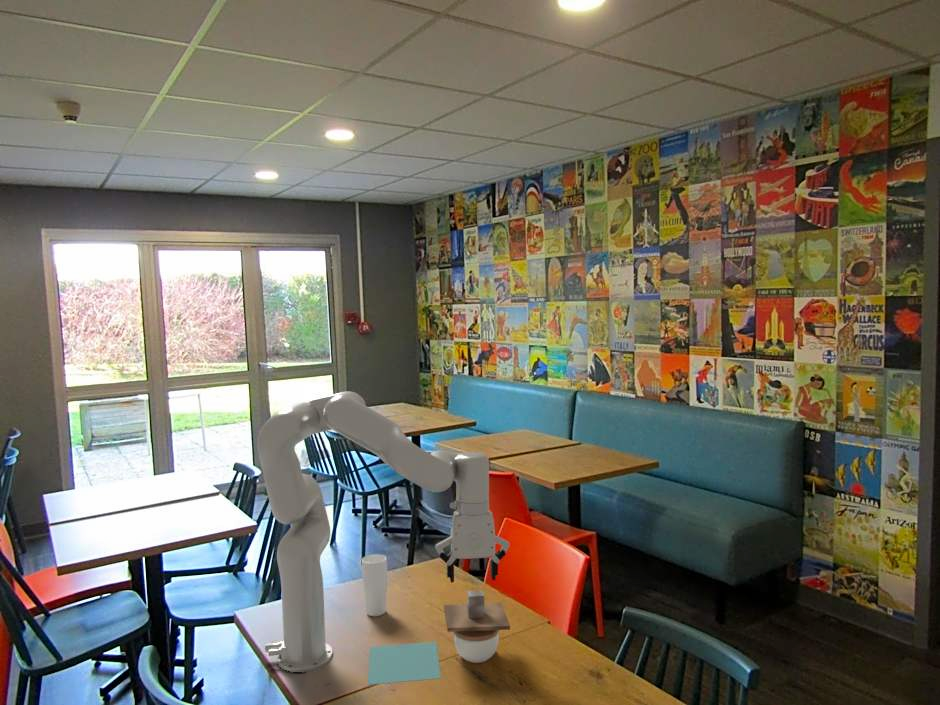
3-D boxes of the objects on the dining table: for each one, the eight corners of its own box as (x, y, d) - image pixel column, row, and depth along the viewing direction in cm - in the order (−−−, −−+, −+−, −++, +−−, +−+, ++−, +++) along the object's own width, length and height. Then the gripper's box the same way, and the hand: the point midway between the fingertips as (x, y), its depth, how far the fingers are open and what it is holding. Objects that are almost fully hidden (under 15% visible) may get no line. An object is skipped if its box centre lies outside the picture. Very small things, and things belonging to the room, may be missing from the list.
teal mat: (367, 686, 141) (367, 684, 141) (370, 649, 157) (370, 647, 157) (441, 680, 143) (440, 678, 143) (436, 643, 159) (436, 641, 159)
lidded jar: (473, 641, 159) (472, 604, 159) (508, 655, 153) (508, 616, 152) (444, 660, 151) (443, 621, 150) (480, 675, 144) (479, 634, 144)
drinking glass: (372, 621, 171) (370, 565, 170) (358, 612, 176) (356, 558, 175) (393, 612, 175) (391, 558, 174) (379, 604, 181) (378, 552, 180)
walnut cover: (447, 631, 144) (447, 605, 144) (443, 608, 158) (444, 584, 158) (510, 629, 145) (510, 603, 145) (501, 606, 159) (501, 582, 159)
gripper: (436, 513, 145) (436, 587, 146) (512, 510, 147) (512, 584, 148) (434, 503, 152) (434, 574, 153) (506, 500, 154) (506, 571, 155)
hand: (472, 579), depth 151 cm, fingers open, 9 cm apart
